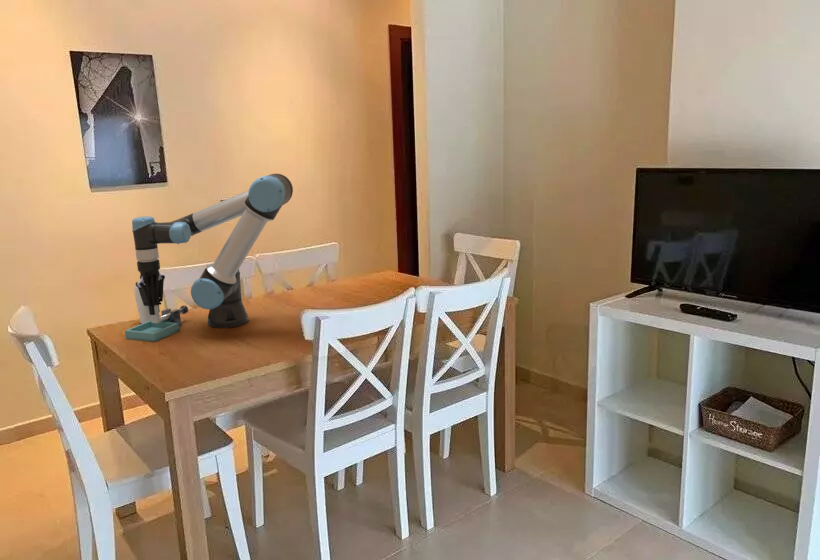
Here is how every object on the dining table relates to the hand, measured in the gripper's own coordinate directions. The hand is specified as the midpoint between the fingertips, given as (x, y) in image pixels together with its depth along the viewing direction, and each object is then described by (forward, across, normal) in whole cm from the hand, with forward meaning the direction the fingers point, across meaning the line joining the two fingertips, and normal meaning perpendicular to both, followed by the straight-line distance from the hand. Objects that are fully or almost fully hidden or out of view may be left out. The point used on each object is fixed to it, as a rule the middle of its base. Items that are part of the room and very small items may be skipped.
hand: (155, 322), depth 236 cm
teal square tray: (+4, +2, 0) cm, 5 cm away
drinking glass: (+4, -10, -13) cm, 17 cm away
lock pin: (+1, -9, 0) cm, 9 cm away
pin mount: (+4, -9, 0) cm, 10 cm away
